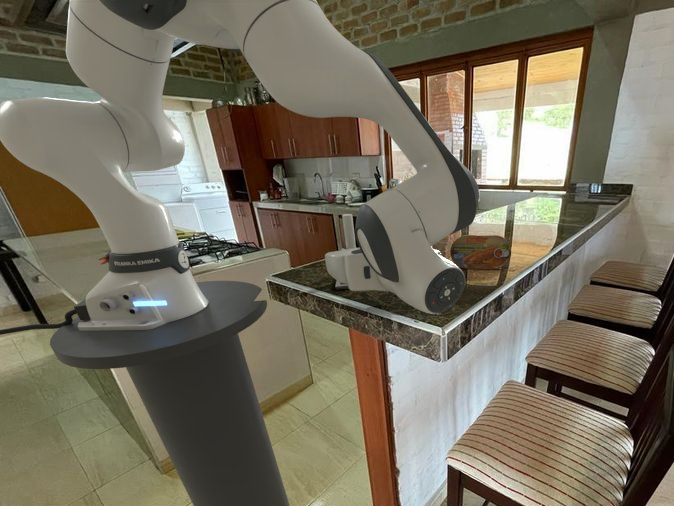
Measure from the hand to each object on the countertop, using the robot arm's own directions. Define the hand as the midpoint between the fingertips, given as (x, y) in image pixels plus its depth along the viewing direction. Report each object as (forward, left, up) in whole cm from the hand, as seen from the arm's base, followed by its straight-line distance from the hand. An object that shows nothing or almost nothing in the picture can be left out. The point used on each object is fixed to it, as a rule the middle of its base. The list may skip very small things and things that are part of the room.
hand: (366, 248), depth 69 cm
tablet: (+1, +10, -9) cm, 14 cm away
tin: (+28, +10, -10) cm, 32 cm away
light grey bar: (-3, +10, -8) cm, 13 cm away
